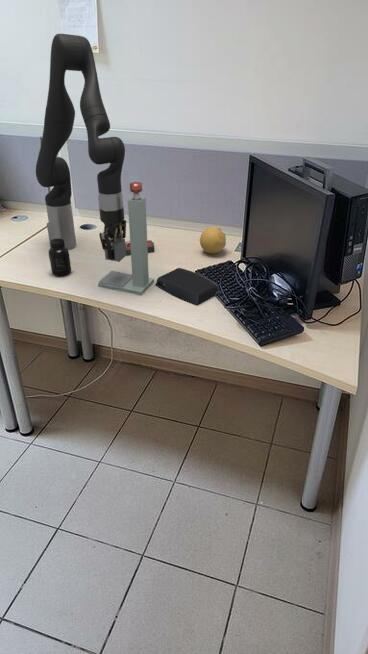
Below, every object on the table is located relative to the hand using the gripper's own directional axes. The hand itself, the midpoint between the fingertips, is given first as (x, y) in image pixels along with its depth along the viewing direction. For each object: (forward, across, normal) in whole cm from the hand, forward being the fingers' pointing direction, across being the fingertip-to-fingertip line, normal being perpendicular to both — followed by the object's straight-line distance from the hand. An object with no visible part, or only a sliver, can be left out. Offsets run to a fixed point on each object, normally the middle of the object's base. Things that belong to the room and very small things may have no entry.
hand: (115, 255), depth 156 cm
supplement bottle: (+10, +1, -22) cm, 24 cm away
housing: (+1, 0, 0) cm, 1 cm away
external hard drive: (+11, -4, +24) cm, 27 cm away
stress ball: (+10, -35, +22) cm, 43 cm away
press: (+10, 0, +2) cm, 10 cm away
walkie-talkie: (+10, -25, -8) cm, 28 cm away
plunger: (-17, 0, +9) cm, 19 cm away
